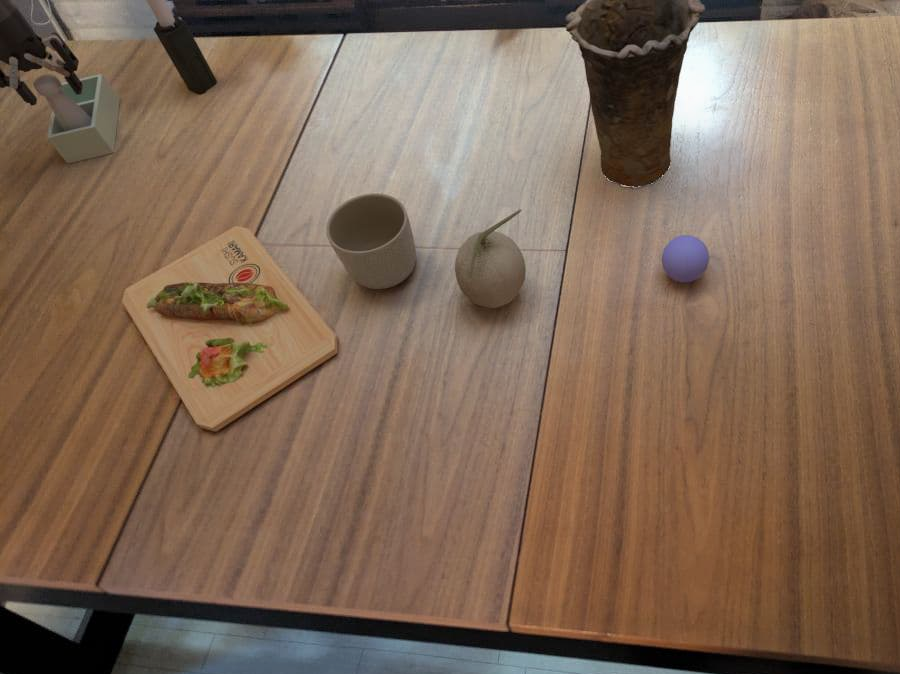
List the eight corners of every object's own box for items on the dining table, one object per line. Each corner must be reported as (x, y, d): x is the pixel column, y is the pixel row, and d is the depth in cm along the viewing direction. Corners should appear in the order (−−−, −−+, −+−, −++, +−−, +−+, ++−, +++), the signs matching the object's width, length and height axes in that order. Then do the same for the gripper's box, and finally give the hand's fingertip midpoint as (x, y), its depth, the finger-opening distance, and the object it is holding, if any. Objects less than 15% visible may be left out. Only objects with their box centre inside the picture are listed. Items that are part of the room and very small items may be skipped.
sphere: (670, 252, 112) (673, 220, 106) (712, 264, 110) (718, 232, 104) (653, 284, 109) (655, 252, 103) (697, 297, 107) (702, 265, 101)
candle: (203, 74, 149) (134, -52, 127) (219, 81, 147) (151, -45, 126) (185, 88, 147) (112, -38, 126) (201, 95, 145) (129, -31, 124)
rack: (67, 163, 138) (46, 138, 133) (76, 109, 147) (57, 83, 142) (114, 152, 138) (94, 126, 133) (120, 99, 147) (102, 73, 142)
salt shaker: (77, 131, 141) (31, 71, 130) (105, 126, 141) (62, 66, 130) (71, 150, 138) (23, 91, 127) (99, 145, 138) (54, 86, 127)
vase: (649, 212, 116) (656, 61, 94) (559, 174, 123) (545, 25, 100) (704, 148, 123) (723, -7, 100) (616, 115, 130) (615, -37, 107)
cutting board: (346, 349, 108) (329, 319, 101) (208, 439, 102) (181, 413, 95) (247, 228, 124) (226, 195, 117) (123, 300, 118) (94, 269, 111)
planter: (382, 312, 111) (361, 265, 102) (334, 275, 116) (309, 227, 107) (439, 265, 115) (423, 216, 106) (390, 231, 120) (370, 181, 111)
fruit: (449, 316, 109) (427, 249, 96) (479, 262, 114) (462, 191, 102) (511, 332, 106) (497, 265, 94) (539, 277, 112) (529, 205, 99)
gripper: (36, -10, 120) (97, 77, 134) (-48, 9, 119) (21, 94, 133) (30, 13, 116) (93, 100, 130) (-57, 33, 115) (16, 118, 129)
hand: (57, 97), depth 131 cm, fingers open, 8 cm apart
